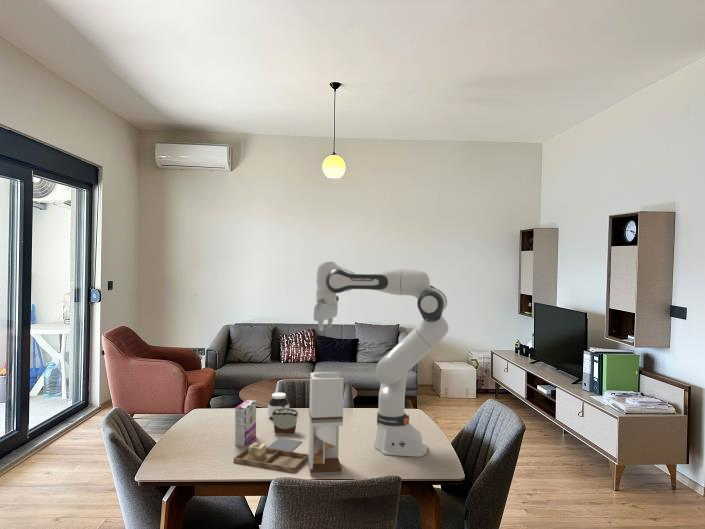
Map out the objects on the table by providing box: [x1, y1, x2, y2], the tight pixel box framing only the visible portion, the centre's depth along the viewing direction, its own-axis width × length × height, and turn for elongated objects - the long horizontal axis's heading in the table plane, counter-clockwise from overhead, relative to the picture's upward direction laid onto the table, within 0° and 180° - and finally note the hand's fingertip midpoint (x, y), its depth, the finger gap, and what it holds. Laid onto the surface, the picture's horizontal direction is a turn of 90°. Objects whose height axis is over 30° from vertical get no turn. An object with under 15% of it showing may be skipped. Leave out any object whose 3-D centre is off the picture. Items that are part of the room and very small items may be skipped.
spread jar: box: [267, 392, 290, 420], centre depth 228 cm, size 12×11×12 cm
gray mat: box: [266, 437, 303, 452], centre depth 189 cm, size 11×11×1 cm
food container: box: [272, 407, 300, 435], centre depth 206 cm, size 12×6×10 cm, turn 84°
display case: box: [307, 371, 345, 477], centre depth 169 cm, size 11×11×35 cm
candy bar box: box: [234, 399, 257, 447], centre depth 194 cm, size 11×5×16 cm, turn 168°
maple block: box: [248, 441, 267, 462], centre depth 176 cm, size 5×5×5 cm
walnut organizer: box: [233, 446, 309, 474], centre depth 174 cm, size 26×13×2 cm, turn 72°
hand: (325, 329), depth 201 cm, fingers open, 8 cm apart
